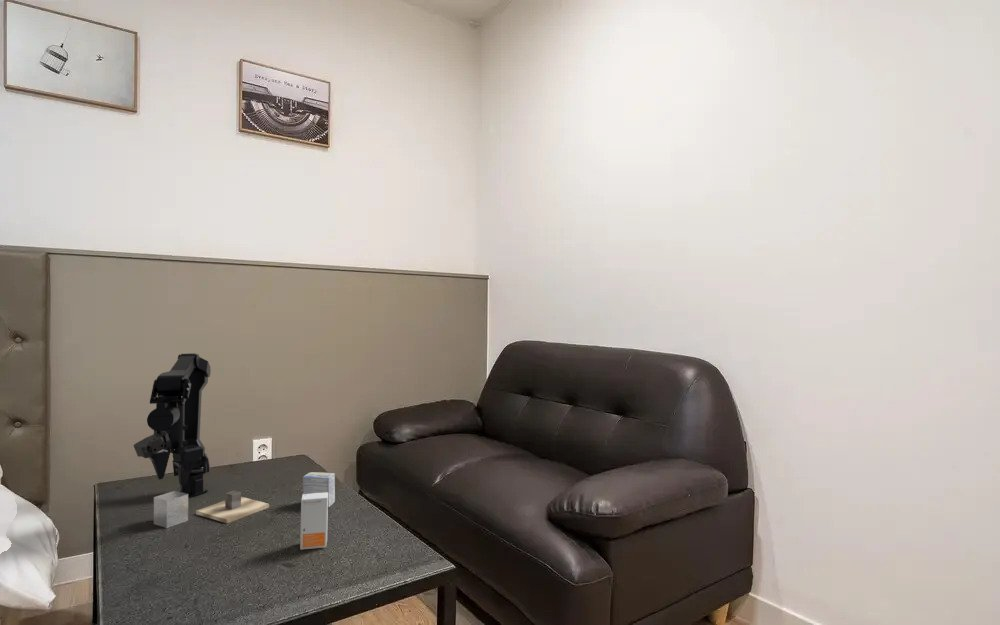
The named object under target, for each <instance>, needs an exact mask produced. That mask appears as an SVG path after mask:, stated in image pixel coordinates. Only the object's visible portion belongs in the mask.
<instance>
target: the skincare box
mask: <svg viewBox="0 0 1000 625" xmlns="http://www.w3.org/2000/svg"><path fill="white" fill-rule="evenodd" d="M328 509H329V507H328V492H325V493H312V494H303V493H302V495H301V500H300V539H299V547H300V548H299V549H300V550H301V551H302V550H311V549H322V548H323V549H325V548H326V549H327V543H328V525H329V524H328V521H329V520H328V516H329V515H328V511H329V510H328Z"/></svg>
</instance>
